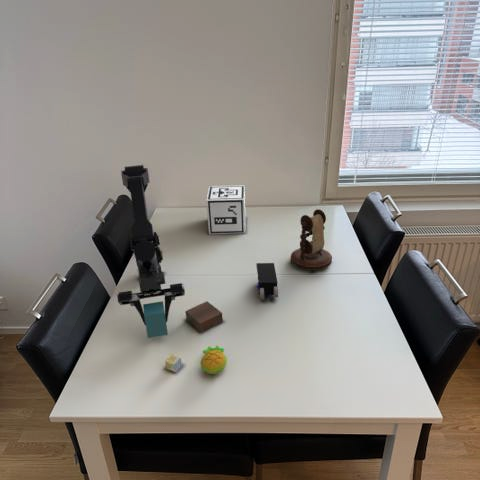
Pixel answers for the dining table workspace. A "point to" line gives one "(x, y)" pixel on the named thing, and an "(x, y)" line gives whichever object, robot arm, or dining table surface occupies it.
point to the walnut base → (204, 316)
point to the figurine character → (267, 280)
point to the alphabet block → (173, 363)
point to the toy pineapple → (213, 360)
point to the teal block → (155, 319)
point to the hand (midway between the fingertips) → (155, 323)
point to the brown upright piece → (312, 244)
